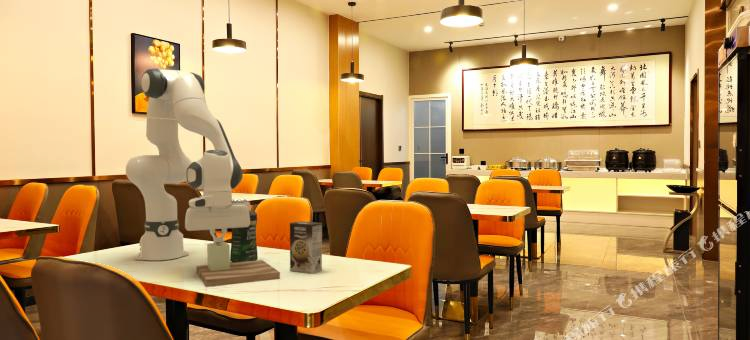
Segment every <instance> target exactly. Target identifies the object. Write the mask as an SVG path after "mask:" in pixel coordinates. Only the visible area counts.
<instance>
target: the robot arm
mask: <svg viewBox="0 0 750 340" xmlns="http://www.w3.org/2000/svg"><path fill="white" fill-rule="evenodd" d="M140 87H141V90H142V92H143V94H144V95H145V96H146V97H148V102H147V108H146V109H147V110H146V125H145V126H146V127H145V129H146V131H145V134H146V135H145V137H146V138H147V140H148V141H149V142H150V143H151V144H153V145H154V146H156V148H157V151H158V154H142V155H138V156H134V157H131V158H130V159H129V160H128V161H127V163H126V166H125V175H126V177H127V179H128V180H129V181H130V183H132V184H134V185H135V186H136V187H137V188H138V190H139V191H140V193H141V195H142V196H143V200H144V206H145V221H144V231H145V232H144V234H143V235H142V236H141V237H140V239H139V250H140V252H139V253H138V254H137V255H136V256H135V258H134V259H135V260H138V261H140V260H141V261H142V260H143V261H167V260H172V259H173V260H174V259H178V258H182V257H186V256H189V252H188V251H186V250H185V249H184V234H183V233H182V232H181V231H180V230H179V229H180V227H179V226H180V223H179V219H178V201H177V199H176V198H175V196H174V195H172V194H170V193H168V192H167V191H166V189H165V186H164V185H166V184H179V183H183V182H187V184H189V186H190V187H192V188H193V189H197V190H202V193H203V195H200V196H197V197H194V198H192V199H189V201H188V205H189V207H188V208H187V209H186V210H185V211H186V213H185V218H184V219H185V220H184V228H185V230H186V231H188V232H192V231H208V230H209V233H210V235H211V236H212V240H213V243H223V242H225V241H224V240H225V239H224V238H225V236H226V234H227V232H228V229H232V228H240V227H248V226H249V225H250V216H249V211H251V202H250V201H249V200H247V199H245V198H242V199H240V198H239V199H237V198H236V199H235V198H234V199H233V197H232V196H233V194H232V192H233V191H232V190H234V189H235V188H236V187H237V186H239V184H241V182H242V180H243V169H242V167H241V165H240V163H239V161H238V160H237V158H236V157H235V154H234V152H233V149H232V147H231V144H230V141H229V140H228V137H227V134H226V132H225V130H224V127H223V126H222V123H221V122H220V120H218V119H217V118H215V116H214V115H213V114H212V113H211V111H210V109H209V107H208V104H207V100H206V96H205V93H204V92H205V82H204V79H203V78H202V76H201V75H199V74H197V73H194V72H188V71H183V70H178V69H165V68H164V69H159V68H149V69H146V70H145V71H144V72H143V74H142V76H141V81H140ZM179 126H180V127H182V128H183V129H185V130H187V131H188V132H192V133H195V134H198V135H200V136H202V137H205V138H206V139H207V140H209V141H210V142H211V143H212V145H213V148H214V149H209V150H208V149H207V150H205V151H204V153H203V156H202V157H201V158H199V159H197V160H195V161H192V160H191V159H190V158H189V157H188V156H187V155H186V154H185V153H184V151H183V150H182V148H181V147H182V146H181V144H180V141H179V140H180V139H179ZM216 230H221V232H222V233H221V234H220V236H216V235H215V233H216Z"/></svg>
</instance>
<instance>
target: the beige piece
mask: <svg viewBox="0 0 750 340" xmlns="http://www.w3.org/2000/svg"><path fill="white" fill-rule="evenodd" d="M206 246H207V247H206V249H207V250H206V251H207V253H206V254H207V256H206V257H207V261H206V262H207V265H208V269H209V270H210V271H216V270H226V269H230V263H231V261H230V253H231V244H229V243H227V242H226V241H224V242H223V243H214V242H213V243H212V242H211V243H207V244H206Z"/></svg>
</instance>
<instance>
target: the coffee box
mask: <svg viewBox="0 0 750 340" xmlns="http://www.w3.org/2000/svg"><path fill="white" fill-rule="evenodd" d="M322 250H323V223H322V222H316V221H315V222H313V221H302V220H301V221H294V222H293V221H292V222H290V223H289V259H290V260H289V270H290V271H291V272H297V273H306V274H315V273H317V272H320V271H322V270H323V251H322Z"/></svg>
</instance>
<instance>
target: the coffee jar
mask: <svg viewBox="0 0 750 340" xmlns="http://www.w3.org/2000/svg"><path fill="white" fill-rule="evenodd" d="M249 216H250V225H249V226H248V227H240V228H231V239H230V241H231V242H230V263H235V262H245V261H256V260H258V245H257V224H258V213H257V212H256V211H255V210H250V211H249Z"/></svg>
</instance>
